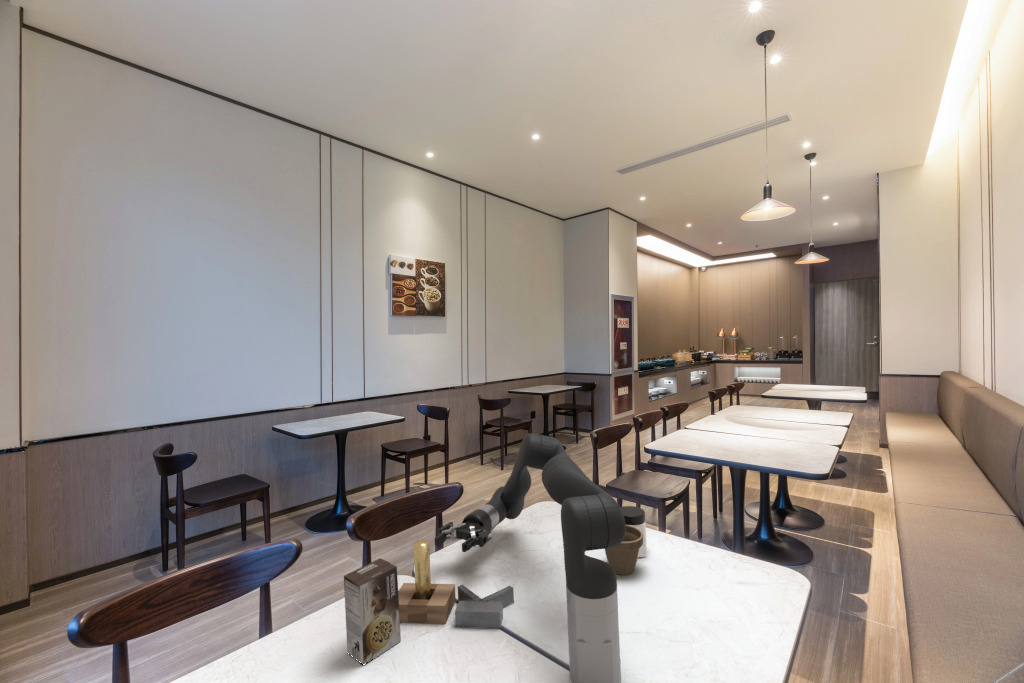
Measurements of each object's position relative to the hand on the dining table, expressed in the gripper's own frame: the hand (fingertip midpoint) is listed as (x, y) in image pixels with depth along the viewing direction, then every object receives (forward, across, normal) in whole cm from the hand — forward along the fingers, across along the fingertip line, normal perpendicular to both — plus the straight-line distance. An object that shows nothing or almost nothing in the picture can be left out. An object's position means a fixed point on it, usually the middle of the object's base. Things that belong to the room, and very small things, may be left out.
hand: (449, 545), depth 114 cm
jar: (-36, +39, +11) cm, 54 cm away
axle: (+11, 0, +11) cm, 15 cm away
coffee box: (+26, -2, +11) cm, 28 cm away
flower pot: (-25, +38, +11) cm, 47 cm away
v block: (+6, +13, +11) cm, 18 cm away
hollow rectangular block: (+11, 0, +11) cm, 15 cm away
